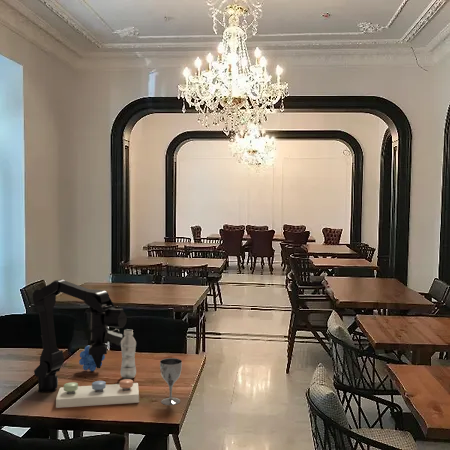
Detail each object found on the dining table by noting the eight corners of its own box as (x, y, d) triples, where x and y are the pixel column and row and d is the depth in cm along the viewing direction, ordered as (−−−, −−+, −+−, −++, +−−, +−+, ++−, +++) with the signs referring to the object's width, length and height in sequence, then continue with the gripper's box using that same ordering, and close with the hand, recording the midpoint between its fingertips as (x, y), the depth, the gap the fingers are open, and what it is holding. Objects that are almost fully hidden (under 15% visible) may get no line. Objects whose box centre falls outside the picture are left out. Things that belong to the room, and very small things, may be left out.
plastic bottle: (121, 381, 208) (121, 332, 207) (119, 375, 214) (120, 328, 213) (136, 380, 209) (137, 332, 208) (135, 374, 216) (135, 328, 215)
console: (56, 407, 180) (56, 399, 180) (60, 395, 192) (60, 387, 192) (138, 402, 186) (138, 394, 186) (137, 390, 198) (137, 382, 198)
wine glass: (182, 397, 191) (182, 357, 191) (180, 405, 183) (181, 364, 183) (160, 397, 191) (161, 357, 190) (158, 405, 183) (159, 364, 182)
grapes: (108, 368, 223) (108, 341, 222) (102, 373, 216) (102, 346, 216) (83, 367, 225) (83, 340, 224) (76, 372, 218) (76, 344, 217)
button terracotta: (119, 396, 188) (119, 384, 188) (119, 391, 193) (119, 379, 193) (133, 395, 189) (133, 383, 189) (132, 390, 194) (132, 378, 194)
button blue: (91, 397, 186) (91, 385, 186) (92, 392, 191) (92, 381, 191) (105, 396, 187) (105, 385, 187) (106, 391, 192) (106, 380, 192)
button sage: (63, 399, 184) (63, 387, 184) (64, 394, 189) (64, 382, 189) (77, 398, 185) (77, 386, 185) (78, 393, 190) (78, 382, 190)
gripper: (121, 330, 180) (121, 374, 181) (121, 318, 198) (121, 358, 199) (88, 331, 178) (88, 375, 179) (91, 319, 196) (91, 359, 197)
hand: (98, 366), depth 188 cm, fingers open, 3 cm apart
